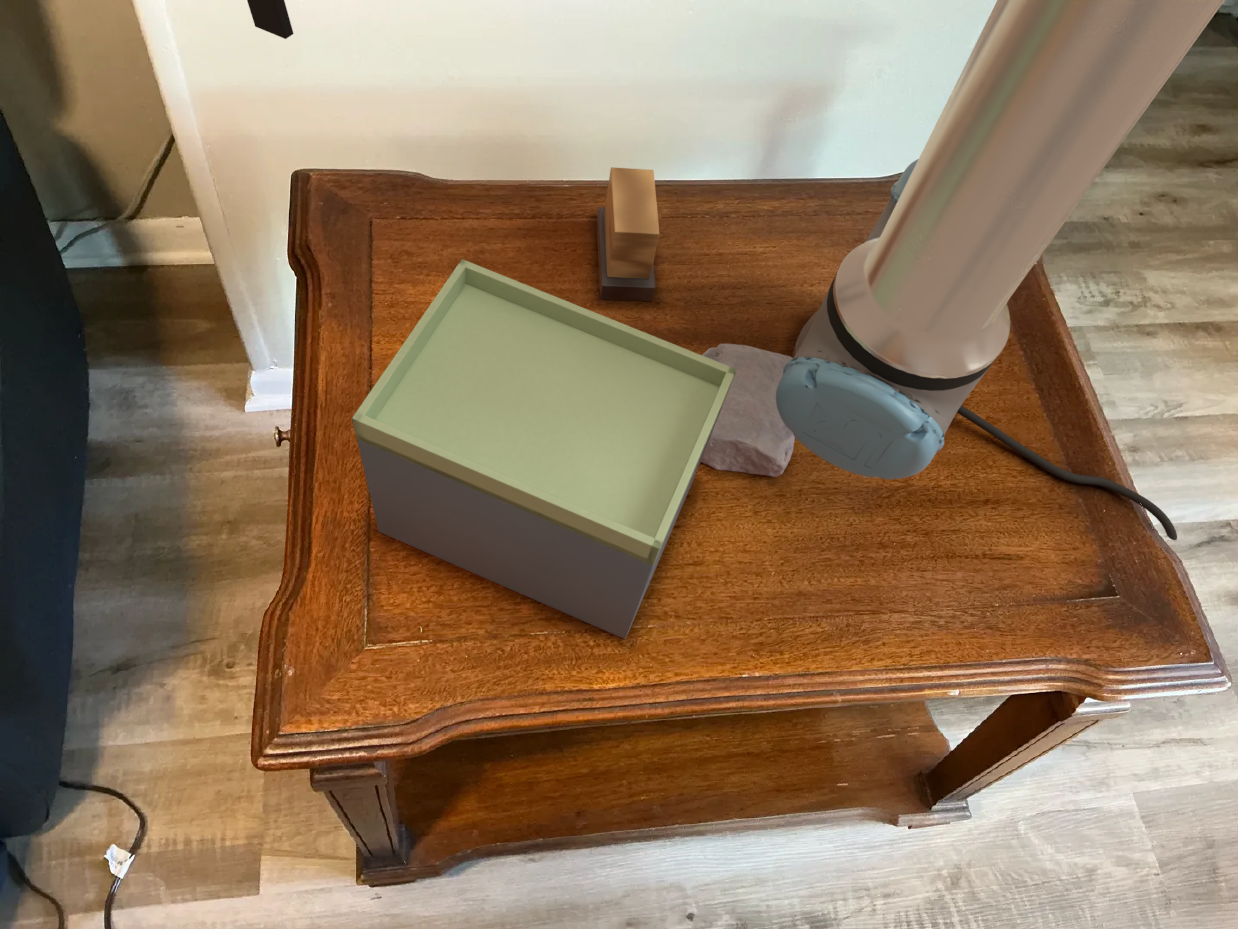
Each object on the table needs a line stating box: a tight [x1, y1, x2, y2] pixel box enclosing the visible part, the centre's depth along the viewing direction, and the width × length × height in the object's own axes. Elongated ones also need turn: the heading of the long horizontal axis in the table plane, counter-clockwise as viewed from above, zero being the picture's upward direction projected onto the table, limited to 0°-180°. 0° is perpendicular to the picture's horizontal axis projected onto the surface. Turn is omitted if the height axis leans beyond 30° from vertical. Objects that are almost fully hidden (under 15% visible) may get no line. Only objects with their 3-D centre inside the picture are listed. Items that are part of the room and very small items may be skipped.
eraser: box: [595, 167, 660, 302], centre depth 87 cm, size 5×10×8 cm, turn 3°
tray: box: [351, 258, 736, 566], centre depth 63 cm, size 21×15×3 cm
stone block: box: [700, 343, 796, 478], centre depth 82 cm, size 12×5×10 cm
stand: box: [356, 395, 727, 640], centre depth 70 cm, size 21×15×14 cm
